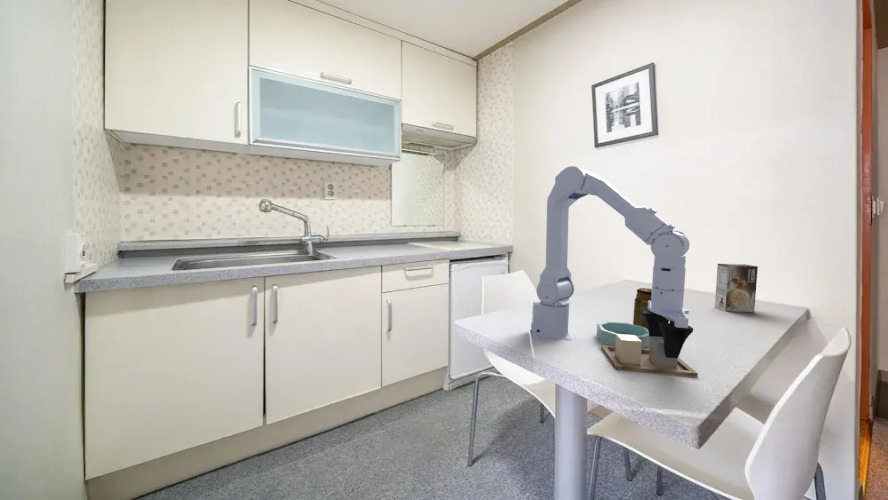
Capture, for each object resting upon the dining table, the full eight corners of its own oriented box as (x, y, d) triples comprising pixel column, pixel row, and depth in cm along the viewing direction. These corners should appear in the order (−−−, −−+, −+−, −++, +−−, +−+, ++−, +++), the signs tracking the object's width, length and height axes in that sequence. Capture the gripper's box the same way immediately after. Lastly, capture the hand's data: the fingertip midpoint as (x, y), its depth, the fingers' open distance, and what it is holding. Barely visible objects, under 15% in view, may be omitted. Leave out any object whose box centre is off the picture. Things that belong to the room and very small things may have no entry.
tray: (615, 371, 70) (615, 366, 70) (600, 350, 82) (601, 345, 82) (697, 379, 68) (697, 373, 67) (670, 355, 79) (670, 350, 79)
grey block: (655, 365, 73) (657, 342, 72) (648, 357, 76) (650, 336, 76) (676, 367, 72) (678, 344, 71) (668, 359, 76) (669, 337, 75)
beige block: (620, 362, 74) (621, 339, 73) (614, 355, 78) (616, 333, 77) (640, 364, 73) (641, 341, 73) (633, 356, 77) (635, 335, 77)
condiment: (664, 333, 95) (667, 290, 94) (648, 338, 91) (651, 294, 89) (637, 326, 101) (639, 286, 100) (621, 331, 97) (624, 289, 95)
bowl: (604, 348, 83) (605, 334, 83) (593, 332, 94) (594, 320, 94) (657, 352, 81) (658, 338, 81) (639, 336, 92) (640, 323, 92)
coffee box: (742, 308, 124) (746, 264, 122) (754, 312, 117) (759, 266, 116) (713, 306, 125) (717, 263, 124) (724, 311, 119) (728, 265, 117)
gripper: (708, 296, 65) (702, 366, 66) (672, 282, 79) (669, 340, 80) (666, 294, 66) (662, 362, 67) (639, 281, 80) (636, 337, 82)
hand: (663, 350), depth 74 cm, fingers open, 7 cm apart
